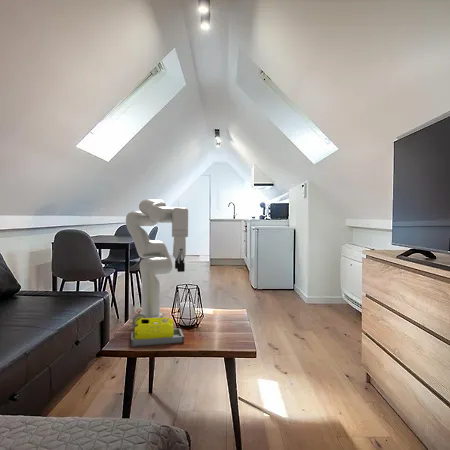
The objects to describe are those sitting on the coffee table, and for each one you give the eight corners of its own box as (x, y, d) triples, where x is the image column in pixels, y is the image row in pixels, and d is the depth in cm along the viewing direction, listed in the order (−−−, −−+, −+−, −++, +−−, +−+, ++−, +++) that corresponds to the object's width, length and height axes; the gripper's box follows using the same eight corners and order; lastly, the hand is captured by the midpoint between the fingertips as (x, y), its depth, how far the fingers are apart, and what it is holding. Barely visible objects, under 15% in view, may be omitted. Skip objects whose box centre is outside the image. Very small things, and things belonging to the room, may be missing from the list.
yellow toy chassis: (173, 336, 156) (173, 317, 156) (173, 340, 151) (173, 321, 151) (136, 337, 155) (136, 318, 154) (134, 341, 149) (134, 321, 149)
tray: (131, 337, 156) (131, 331, 156) (180, 333, 161) (180, 328, 161) (131, 346, 145) (131, 340, 145) (183, 342, 150) (183, 336, 150)
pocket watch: (146, 334, 160) (147, 312, 159) (129, 333, 161) (129, 311, 161) (154, 329, 168) (154, 308, 167) (137, 328, 169) (137, 307, 169)
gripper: (170, 232, 173) (169, 267, 174) (174, 234, 157) (173, 273, 157) (185, 232, 175) (185, 267, 176) (190, 234, 159) (190, 272, 159)
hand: (179, 270), depth 166 cm, fingers open, 9 cm apart
